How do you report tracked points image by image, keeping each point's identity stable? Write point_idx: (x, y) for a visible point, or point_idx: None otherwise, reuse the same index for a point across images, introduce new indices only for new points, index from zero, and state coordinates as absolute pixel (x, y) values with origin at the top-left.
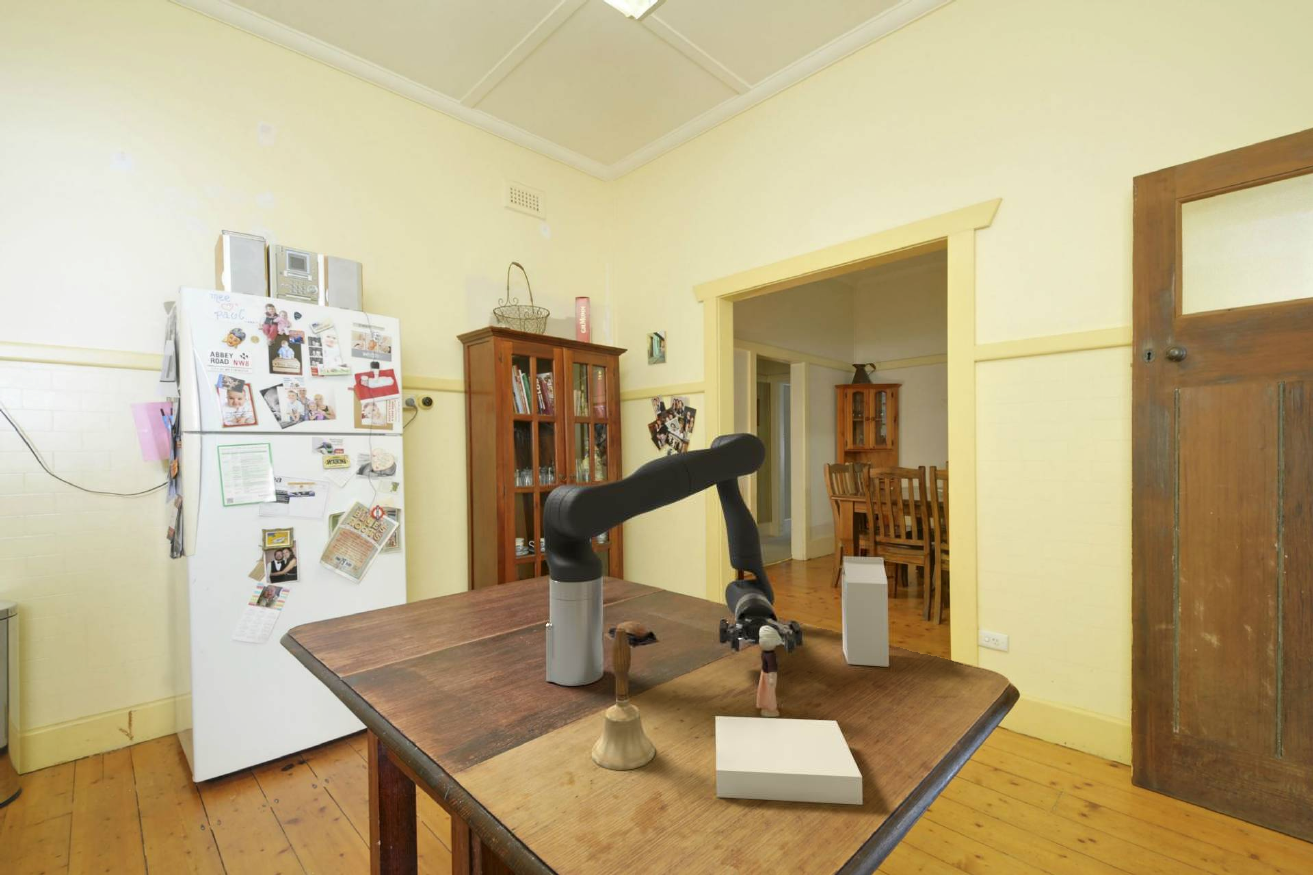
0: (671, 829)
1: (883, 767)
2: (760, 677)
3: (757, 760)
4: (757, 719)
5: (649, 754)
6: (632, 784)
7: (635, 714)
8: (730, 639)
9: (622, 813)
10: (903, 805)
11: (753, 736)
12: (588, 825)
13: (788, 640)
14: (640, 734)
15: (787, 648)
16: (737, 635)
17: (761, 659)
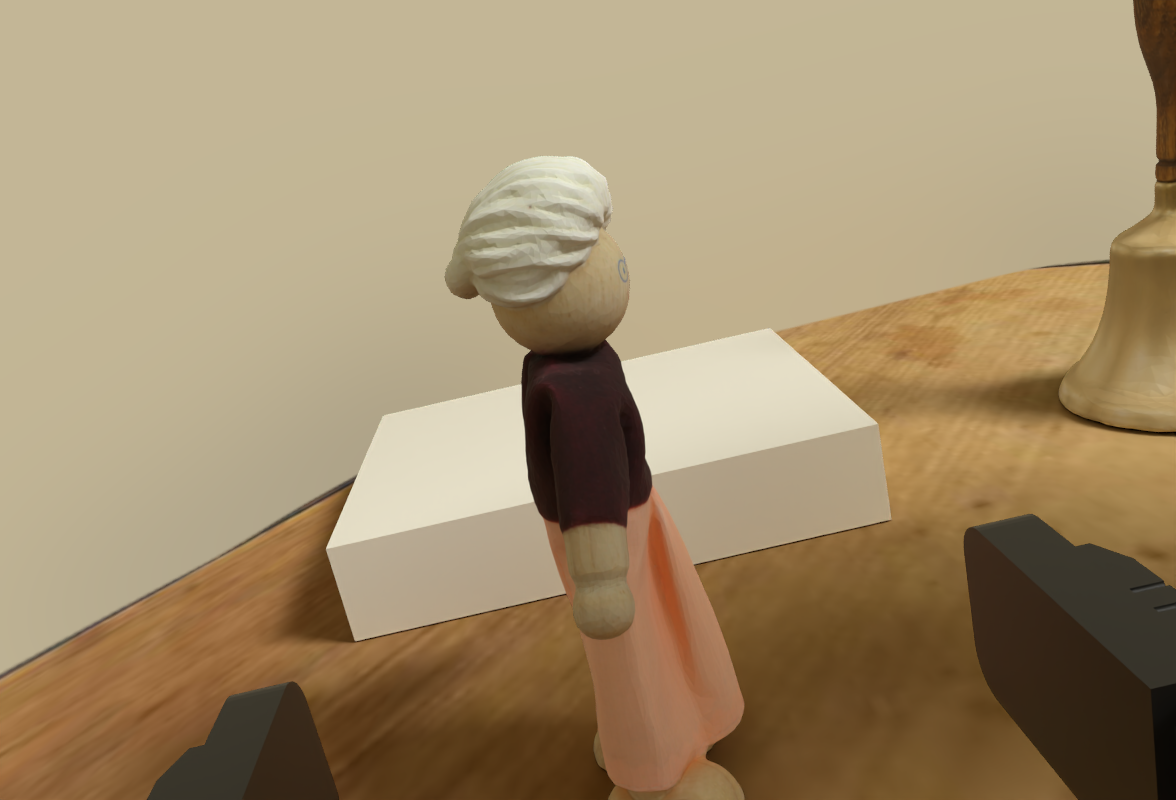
0: (849, 342)
1: (248, 595)
2: (671, 517)
3: (661, 367)
4: (682, 462)
5: (1065, 381)
6: (1033, 355)
7: (1116, 238)
8: (1133, 566)
9: (982, 325)
10: (295, 511)
11: (686, 410)
12: (1029, 300)
13: (279, 686)
14: (1103, 316)
15: (326, 780)
16: (1049, 574)
17: (643, 435)
